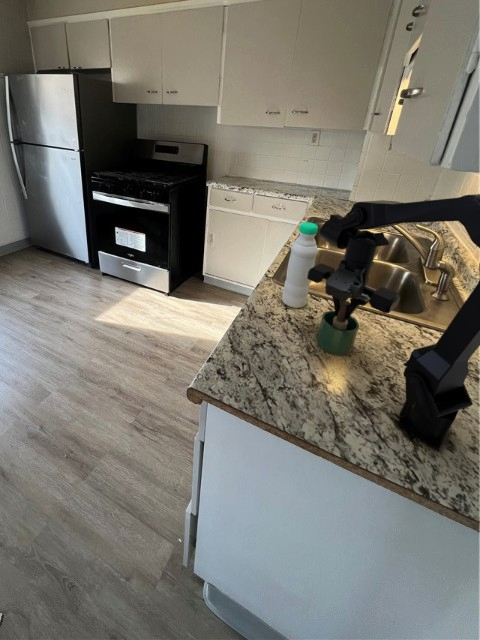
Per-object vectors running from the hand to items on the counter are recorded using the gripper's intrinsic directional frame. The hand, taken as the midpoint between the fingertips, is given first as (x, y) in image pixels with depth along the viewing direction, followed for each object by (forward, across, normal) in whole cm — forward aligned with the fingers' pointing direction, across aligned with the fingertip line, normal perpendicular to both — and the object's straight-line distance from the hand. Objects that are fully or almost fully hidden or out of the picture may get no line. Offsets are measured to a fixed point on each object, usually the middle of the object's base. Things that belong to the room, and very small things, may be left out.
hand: (341, 316), depth 75 cm
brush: (+5, 0, 0) cm, 5 cm away
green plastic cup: (+8, 0, 0) cm, 8 cm away
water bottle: (+8, -17, +8) cm, 21 cm away
